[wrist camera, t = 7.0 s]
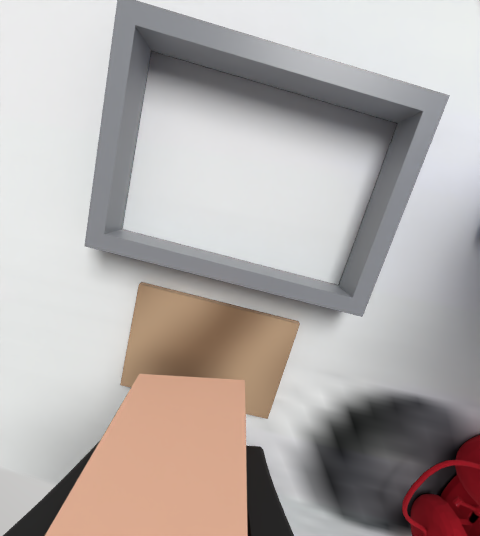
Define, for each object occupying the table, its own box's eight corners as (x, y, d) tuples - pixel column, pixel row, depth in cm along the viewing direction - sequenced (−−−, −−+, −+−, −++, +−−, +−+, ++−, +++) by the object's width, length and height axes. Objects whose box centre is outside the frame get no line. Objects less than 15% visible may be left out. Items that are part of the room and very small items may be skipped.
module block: (245, 379, 11) (248, 592, 5) (238, 465, 12) (235, 725, 6) (139, 373, 11) (19, 579, 5) (141, 459, 12) (42, 716, 6)
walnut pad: (298, 321, 16) (299, 324, 16) (267, 413, 18) (267, 418, 17) (141, 282, 16) (139, 284, 15) (123, 380, 17) (120, 384, 17)
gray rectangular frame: (420, 110, 14) (449, 95, 12) (347, 302, 16) (362, 316, 14) (136, 25, 13) (118, -6, 11) (104, 239, 15) (84, 246, 13)
